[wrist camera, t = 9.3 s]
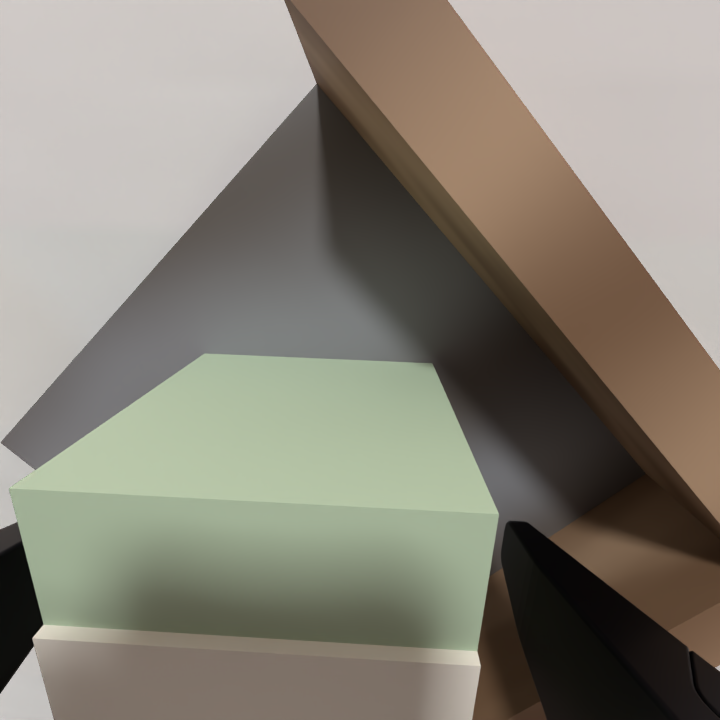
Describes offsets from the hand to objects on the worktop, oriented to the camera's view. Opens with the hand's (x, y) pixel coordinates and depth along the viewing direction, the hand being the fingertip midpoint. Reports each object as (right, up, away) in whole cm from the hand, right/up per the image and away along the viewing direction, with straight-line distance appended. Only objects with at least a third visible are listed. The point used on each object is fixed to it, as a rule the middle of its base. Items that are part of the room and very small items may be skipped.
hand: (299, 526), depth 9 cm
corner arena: (+1, +1, +3) cm, 3 cm away
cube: (0, +1, +3) cm, 3 cm away
